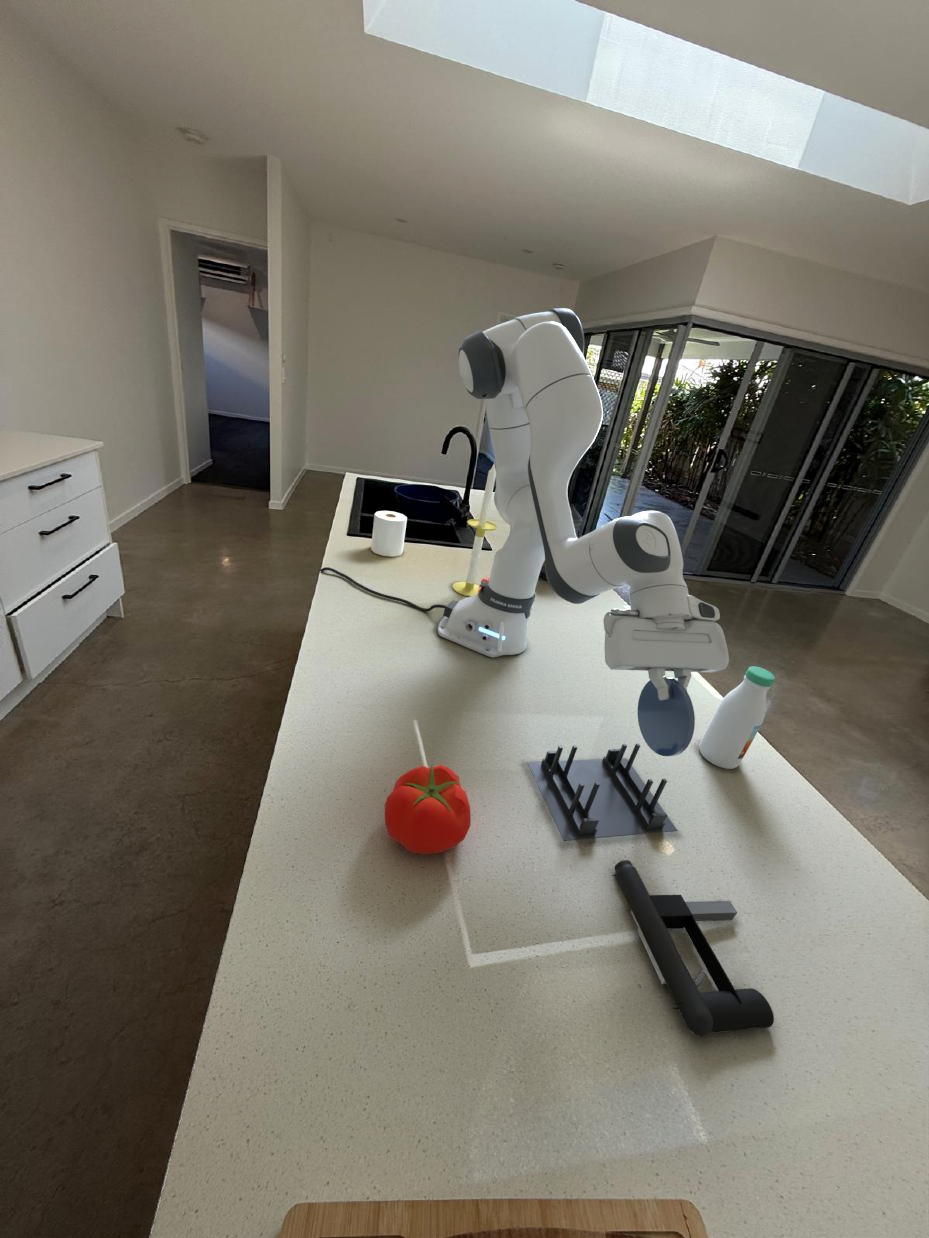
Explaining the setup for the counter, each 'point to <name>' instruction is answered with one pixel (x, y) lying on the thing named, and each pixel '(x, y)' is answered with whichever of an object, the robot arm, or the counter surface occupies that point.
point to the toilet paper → (388, 533)
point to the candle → (478, 539)
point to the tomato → (428, 810)
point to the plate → (666, 719)
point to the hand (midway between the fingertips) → (673, 700)
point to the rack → (599, 796)
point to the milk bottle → (737, 720)
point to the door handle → (695, 1007)
